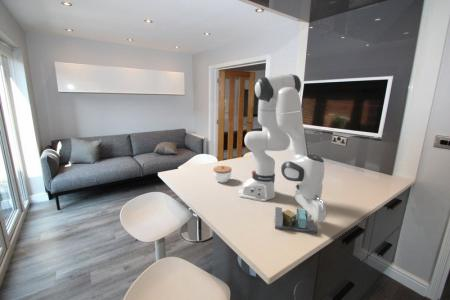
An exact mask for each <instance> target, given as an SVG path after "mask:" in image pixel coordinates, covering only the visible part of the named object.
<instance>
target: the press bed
mask: <svg viewBox="0 0 450 300" xmlns="http://www.w3.org/2000/svg"><path fill="white" fill-rule="evenodd" d="M282 212H283V207H278V206H275V208H274V228H275V229H276V230H285V231H292V232H300V233H301V232H302V233H311V234H316V235H317V234H318V228H317V227H316V224H315V219H314V218H313V219H312V218H311V220H310V221H308V220H307V219H306V228H299V227H298V224H297V219H296V223H295V224H293V225H290V226H289V225H288V224H286V223H285V222H283V214H282Z"/></svg>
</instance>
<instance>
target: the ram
mask: <svg viewBox="0 0 450 300" xmlns="http://www.w3.org/2000/svg"><path fill="white" fill-rule="evenodd" d="M296 214H297V217H296V219H297V224H298V227H299V228H306V216H305V213H304V209H301V208H297V209H296Z"/></svg>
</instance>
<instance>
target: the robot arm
mask: <svg viewBox="0 0 450 300" xmlns="http://www.w3.org/2000/svg"><path fill="white" fill-rule="evenodd" d="M301 88H302V80H301V79H300V77H299V76H298V75H297V74H277V75H272V76H271V75H270V76H264V77H260V78H258V79H257V80H256V81H255V84H254V94H255V97H256V98H257V99H258V105H257V122H258V124H259V125H260V126H262V127H263V128H265V129H266V130H267V131H266V130H252V131H248V132H247V133H246V134H245V136H244V139H243V140H244V145H245V146H246V148H247V149H249V151H250V152H251V153H252V154H253V157H254V159H255V169H252V171H251V177H250V178H248V179H247V180H245V181H244V182H243V184H242V186H241V187H239V189H238V192H237V193H238V194H237V195H238V196H239V197H240V198H244V199H249V200H254V201H259V202H266V201H268V200H272V199H275V197H276V192H275V181H276V173H275V168H276V161H275V159H274V158H273V157H271V156H270V155H269V154H267V153H266V151H271V152H281V151H287V150H288V148H289V147H290V144H291V141H292V146H293V157H292V158H290V159H288V160H286V161H285V162H283V164H282V165H281V167H280V169H281V170H280V171H281V174H282V176H283V177H284V178H285V179H286V180H288V181H290V182H297V183H295V191H294V192H295V193H294V198H295V201H296V202H297V203H298V204H299V205H300V206H301V207H302V208H303V210H304V213H305V216H306V219H307V220H308V221H310V220H311V219H312V218H313V220H314V221H316V222H324V221H326V218H327V217H326V215H327V207H326V204H325V202H324V200H323V199H322V198H321V197H322V194H323V193H322V192H323V180H324V178H325V168H326V167H325V161H324V158H322V157H321V156H319V155H316V154H310V153H309V151H308V142H307V139H306V138H307V137H306V132H305V128H304V122H303V111H302V103H301V98H300V95H299V93H300V91H301ZM298 182H299V183H298Z"/></svg>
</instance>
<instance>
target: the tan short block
mask: <svg viewBox="0 0 450 300" xmlns="http://www.w3.org/2000/svg"><path fill="white" fill-rule="evenodd" d="M282 214H283V222H285V223H286V224H288V225H289V226H290V225H293V224H295V223H296V217H297V213H295V212H293V211H292V210H290V209H285V210H282Z"/></svg>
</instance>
